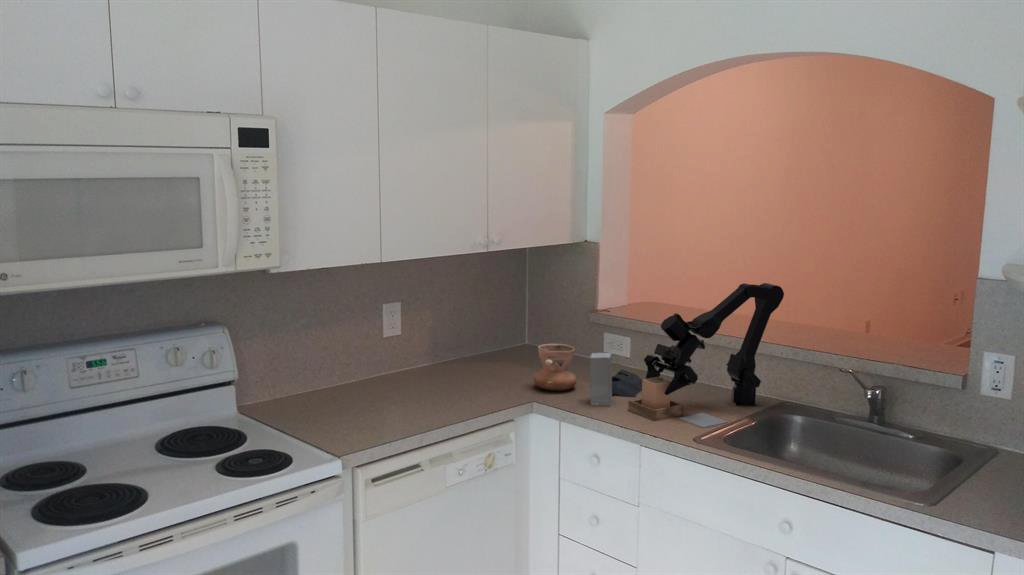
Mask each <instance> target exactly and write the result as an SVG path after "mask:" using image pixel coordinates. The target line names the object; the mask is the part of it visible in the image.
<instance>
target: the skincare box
mask: <svg viewBox="0 0 1024 575" xmlns="http://www.w3.org/2000/svg"><path fill="white" fill-rule="evenodd" d="M612 355H613V354H612V353H611V352H592V353H591V354H590V356H589V389H590V395H589V396H590V405H591V406H597V407H598V406H601V407H611V406H612V402H613V395H612V377H613V374H612V372H613V371H612V370H613V369H612V368H613V367H612V366H613V365H612V364H613V363H612Z"/></svg>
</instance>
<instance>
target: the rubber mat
mask: <svg viewBox="0 0 1024 575" xmlns="http://www.w3.org/2000/svg"><path fill="white" fill-rule="evenodd" d="M678 420H680V421H683V422H685V423H688V424H691V425H693V426H696V427H699V428H701V429H706V428H707V429H708V428H711V427H716V426H721V425H725V424H728V423H729V422H728V421H727V420H724V419H721V418H718V417H715V416H713V415H711V414H707V413H705V412H700V413H695V414H690V415H686V416H681V417H678Z"/></svg>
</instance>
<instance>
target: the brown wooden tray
mask: <svg viewBox="0 0 1024 575" xmlns="http://www.w3.org/2000/svg"><path fill="white" fill-rule="evenodd" d="M627 404H628V407H627V409H628V411H629V412H630V413H633V414H636V415H638V416H641V417H643V418H646V419H648V420H651V421H653V422H654V421H661V420H666V419H670V418H674V417H678V416H683V415H684V404H682V403H679V402H677V401H674V400H671V399H670V407H666V408H661V409H656V410H654V409H652V408H649V407H646V406H644V405H642V397H640V398H637V399H632V400H628V402H627Z"/></svg>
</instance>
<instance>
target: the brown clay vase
mask: <svg viewBox="0 0 1024 575" xmlns="http://www.w3.org/2000/svg"><path fill="white" fill-rule="evenodd" d="M575 351H576V350H575V348H574V346H571V345H569V344H564V343H546V344H545V343H544V344H541V345H538V346H537V352H538V357H539V360H540V363H541V366H542V368H541V369H540V370H538V371H537V372H536V373H535V374H534V376H533V382H534V384H535V386H537V387H538V388H540V389H543V390H546V391H551V392H560V391H561V392H562V391H568V390H570V389H572V388H573V387H575V386H576V385H577V381H578V380H577V376H576V375H575V374H574V373H573V372H572V371H570V370H569V366H570V365H571V363H572V361H573V358H574V354H575Z"/></svg>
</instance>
